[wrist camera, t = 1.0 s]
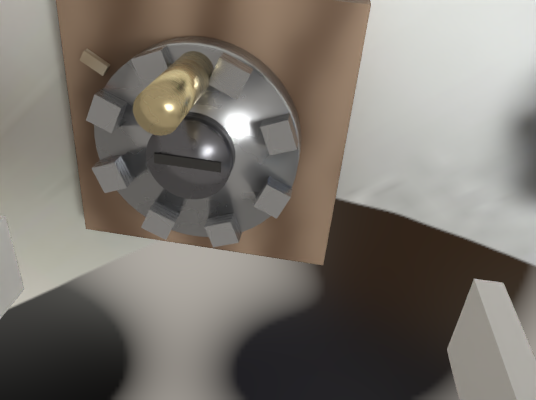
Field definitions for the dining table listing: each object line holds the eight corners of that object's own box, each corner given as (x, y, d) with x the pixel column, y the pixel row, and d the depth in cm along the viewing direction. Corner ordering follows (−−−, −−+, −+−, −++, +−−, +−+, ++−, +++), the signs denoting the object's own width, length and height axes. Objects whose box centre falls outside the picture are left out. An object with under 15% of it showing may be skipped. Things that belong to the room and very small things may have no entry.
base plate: (369, -1, 31) (371, 6, 29) (324, 250, 42) (322, 269, 40) (67, -36, 33) (47, -32, 31) (96, 215, 43) (83, 232, 41)
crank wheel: (313, 50, 31) (301, 102, 23) (290, 231, 38) (274, 319, 30) (100, 24, 32) (15, 64, 24) (116, 205, 39) (55, 284, 31)
